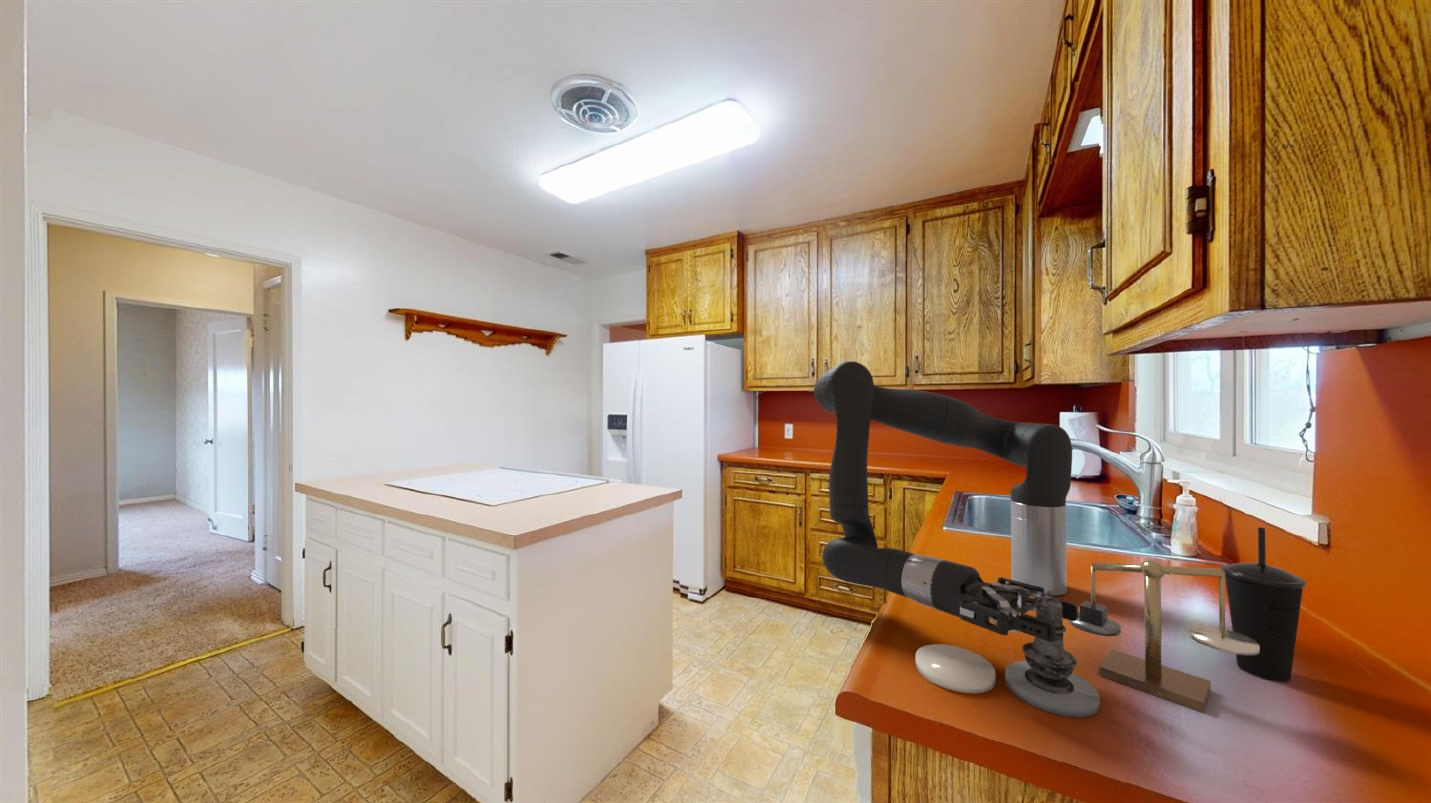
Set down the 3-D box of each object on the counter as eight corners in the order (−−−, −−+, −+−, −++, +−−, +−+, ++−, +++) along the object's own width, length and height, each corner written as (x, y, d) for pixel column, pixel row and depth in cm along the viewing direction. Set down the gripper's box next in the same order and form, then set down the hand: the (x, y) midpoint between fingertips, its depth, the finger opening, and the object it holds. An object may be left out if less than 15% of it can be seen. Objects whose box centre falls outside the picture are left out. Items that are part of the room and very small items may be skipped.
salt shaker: (1086, 698, 58) (1087, 602, 57) (1033, 692, 59) (1033, 597, 59) (1063, 671, 63) (1063, 583, 63) (1014, 665, 65) (1015, 579, 64)
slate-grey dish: (1021, 661, 68) (1021, 653, 68) (1109, 694, 60) (1109, 685, 60) (992, 688, 62) (992, 679, 62) (1086, 729, 54) (1086, 719, 54)
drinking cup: (1271, 659, 68) (1269, 522, 68) (1326, 691, 60) (1325, 537, 60) (1207, 653, 69) (1206, 519, 69) (1253, 684, 62) (1252, 534, 62)
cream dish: (936, 645, 73) (936, 637, 73) (1007, 674, 65) (1007, 665, 65) (901, 668, 67) (901, 659, 67) (975, 703, 59) (975, 694, 59)
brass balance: (1076, 645, 72) (1074, 535, 72) (1262, 706, 57) (1260, 568, 57) (1061, 661, 68) (1060, 544, 68) (1258, 732, 53) (1256, 583, 53)
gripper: (916, 570, 68) (1047, 609, 55) (961, 550, 77) (1083, 579, 64) (916, 622, 68) (1048, 672, 55) (961, 596, 77) (1083, 634, 64)
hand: (1066, 622), depth 59 cm, fingers open, 8 cm apart
